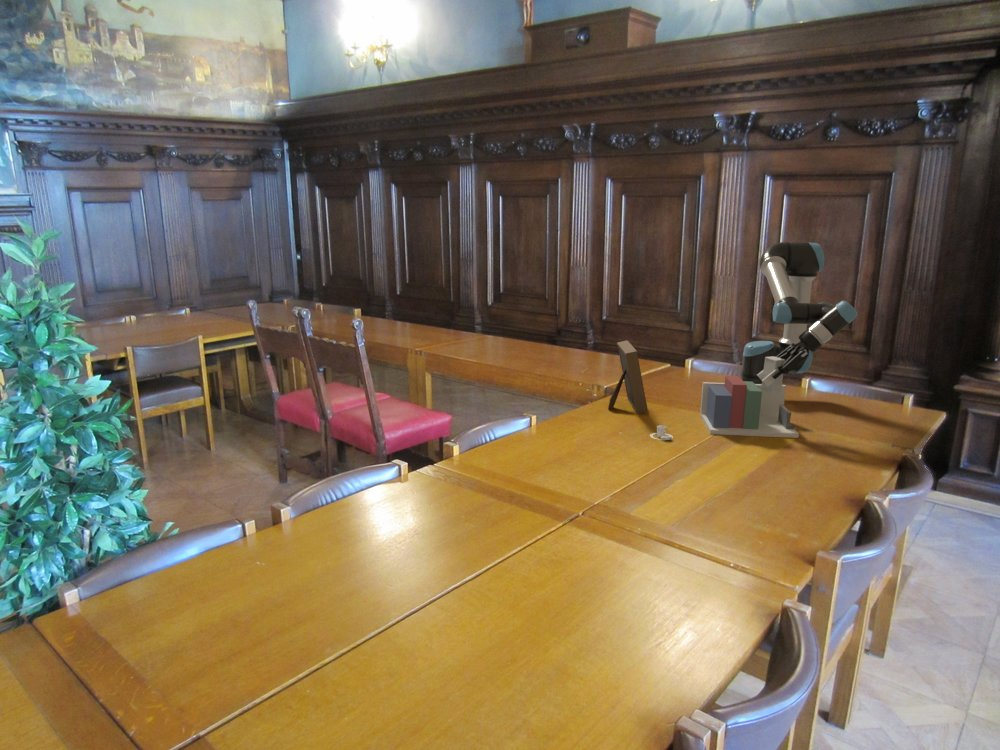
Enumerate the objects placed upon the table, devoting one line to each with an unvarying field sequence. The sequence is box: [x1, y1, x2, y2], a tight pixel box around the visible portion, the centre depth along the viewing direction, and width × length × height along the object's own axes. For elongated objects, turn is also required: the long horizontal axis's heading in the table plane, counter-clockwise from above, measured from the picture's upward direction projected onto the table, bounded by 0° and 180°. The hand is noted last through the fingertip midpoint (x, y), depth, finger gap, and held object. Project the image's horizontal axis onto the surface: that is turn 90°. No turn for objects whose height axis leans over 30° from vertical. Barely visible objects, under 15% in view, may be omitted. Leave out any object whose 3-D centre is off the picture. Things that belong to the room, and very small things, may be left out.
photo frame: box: [607, 340, 649, 415], centre depth 268 cm, size 15×22×25 cm
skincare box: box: [761, 356, 785, 393], centre depth 240 cm, size 6×4×12 cm
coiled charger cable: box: [649, 424, 674, 441], centre depth 234 cm, size 9×8×4 cm
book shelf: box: [699, 375, 800, 439], centre depth 244 cm, size 22×30×18 cm
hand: (762, 380), depth 241 cm, fingers closed on skincare box, 7 cm apart
